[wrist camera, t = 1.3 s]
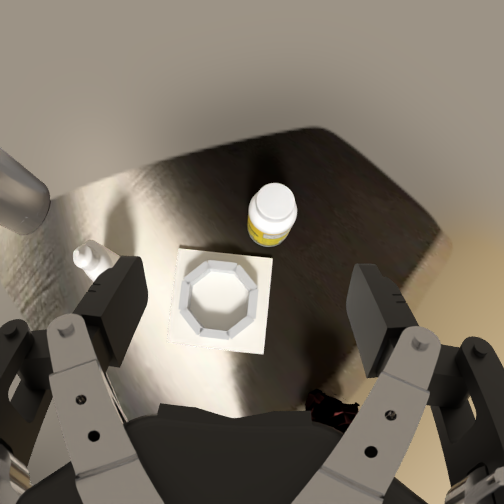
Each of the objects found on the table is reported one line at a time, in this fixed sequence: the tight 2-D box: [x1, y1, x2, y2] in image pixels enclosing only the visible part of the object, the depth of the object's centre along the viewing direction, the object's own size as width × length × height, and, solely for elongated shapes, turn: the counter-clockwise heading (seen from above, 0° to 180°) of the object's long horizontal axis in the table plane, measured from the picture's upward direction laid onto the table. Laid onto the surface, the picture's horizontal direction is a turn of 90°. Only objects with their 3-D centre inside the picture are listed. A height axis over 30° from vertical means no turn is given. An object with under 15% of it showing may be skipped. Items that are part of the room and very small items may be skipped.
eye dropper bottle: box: [73, 240, 120, 281], centre depth 33 cm, size 4×6×12 cm
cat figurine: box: [305, 389, 359, 434], centre depth 30 cm, size 7×7×12 cm
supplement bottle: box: [248, 183, 297, 247], centre depth 36 cm, size 5×5×10 cm
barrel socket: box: [167, 248, 273, 354], centre depth 37 cm, size 12×12×3 cm
